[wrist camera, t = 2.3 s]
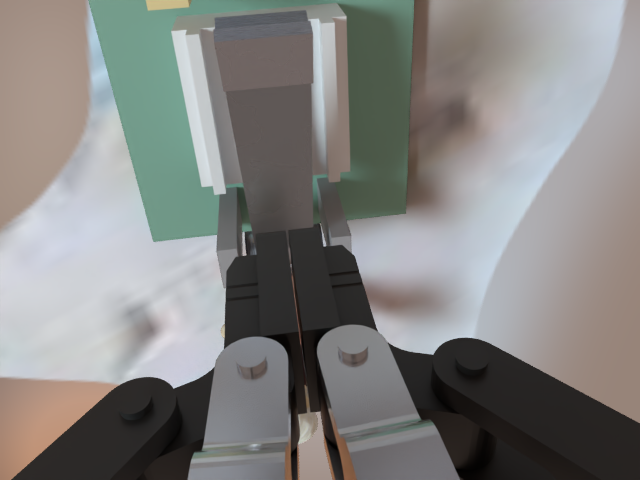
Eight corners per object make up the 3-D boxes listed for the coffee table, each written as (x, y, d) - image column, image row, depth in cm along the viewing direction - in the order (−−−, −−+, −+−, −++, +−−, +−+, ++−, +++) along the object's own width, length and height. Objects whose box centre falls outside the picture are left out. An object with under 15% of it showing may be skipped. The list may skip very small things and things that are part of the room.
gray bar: (195, -3, 18) (197, 43, 17) (319, -13, 18) (329, 32, 17) (247, 243, 31) (250, 278, 30) (318, 235, 31) (324, 269, 30)
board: (68, -97, 25) (13, -86, 19) (413, -121, 26) (466, -117, 20) (155, 233, 35) (138, 310, 29) (401, 205, 37) (435, 274, 30)
